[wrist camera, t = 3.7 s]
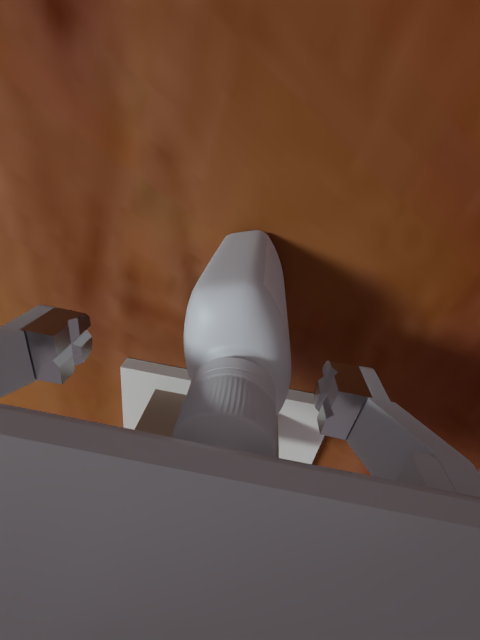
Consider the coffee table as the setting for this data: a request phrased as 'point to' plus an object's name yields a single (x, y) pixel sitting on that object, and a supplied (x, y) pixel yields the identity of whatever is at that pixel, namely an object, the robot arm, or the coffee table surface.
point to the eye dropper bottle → (237, 348)
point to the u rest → (170, 392)
